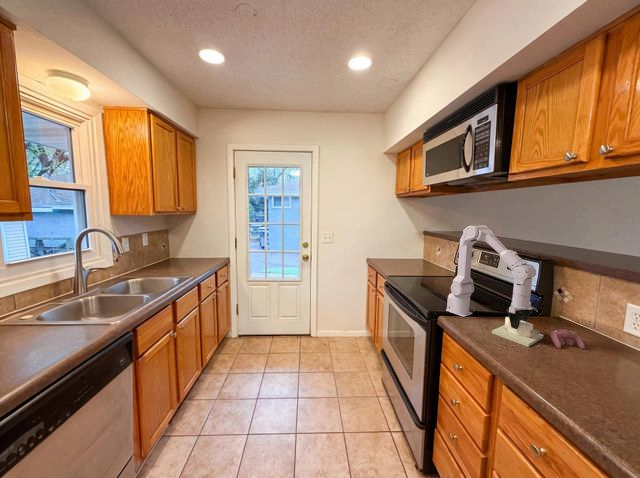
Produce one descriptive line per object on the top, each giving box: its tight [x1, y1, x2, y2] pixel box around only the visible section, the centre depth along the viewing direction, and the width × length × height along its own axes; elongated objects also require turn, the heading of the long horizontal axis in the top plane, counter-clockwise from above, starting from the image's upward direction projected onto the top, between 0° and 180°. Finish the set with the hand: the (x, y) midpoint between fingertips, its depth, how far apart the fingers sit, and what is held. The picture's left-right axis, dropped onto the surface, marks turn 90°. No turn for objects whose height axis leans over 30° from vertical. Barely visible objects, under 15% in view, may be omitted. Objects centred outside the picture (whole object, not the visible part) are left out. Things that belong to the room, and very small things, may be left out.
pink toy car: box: [549, 328, 586, 350], centre depth 106 cm, size 10×5×7 cm, turn 85°
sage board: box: [491, 324, 545, 348], centre depth 114 cm, size 13×14×1 cm
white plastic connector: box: [504, 316, 541, 338], centre depth 112 cm, size 12×4×5 cm, turn 33°
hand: (518, 326), depth 113 cm, fingers open, 6 cm apart
